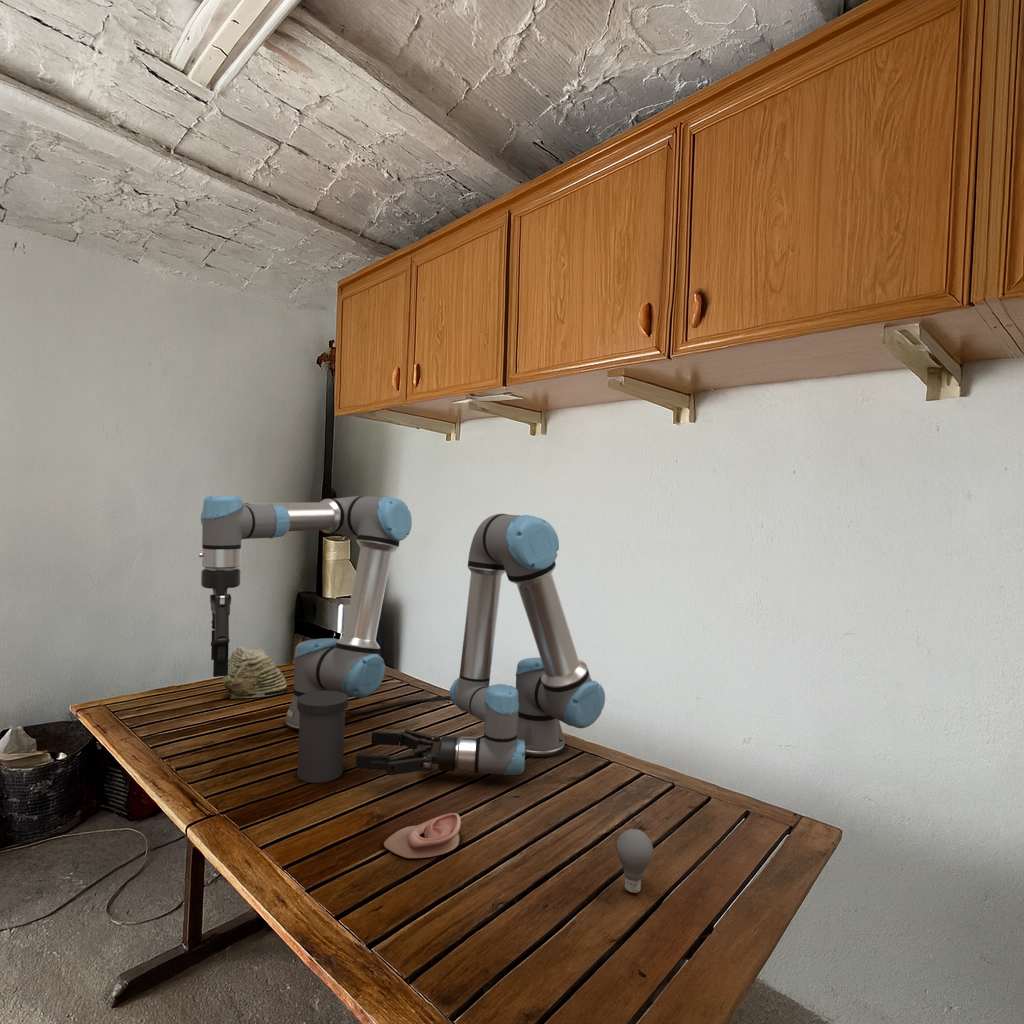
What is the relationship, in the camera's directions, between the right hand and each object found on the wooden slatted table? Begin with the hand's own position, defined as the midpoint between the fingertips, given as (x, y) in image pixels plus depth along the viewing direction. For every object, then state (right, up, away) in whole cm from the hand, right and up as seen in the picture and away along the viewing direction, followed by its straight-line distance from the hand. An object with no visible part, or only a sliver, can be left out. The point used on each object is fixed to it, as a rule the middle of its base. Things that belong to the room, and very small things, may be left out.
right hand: (364, 749), depth 144 cm
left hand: (-29, +21, -9) cm, 37 cm away
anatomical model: (+17, -7, -27) cm, 33 cm away
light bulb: (+54, -9, -39) cm, 67 cm away
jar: (-10, -6, +1) cm, 12 cm away
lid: (-10, +11, 0) cm, 15 cm away
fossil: (-47, -3, +54) cm, 71 cm away
